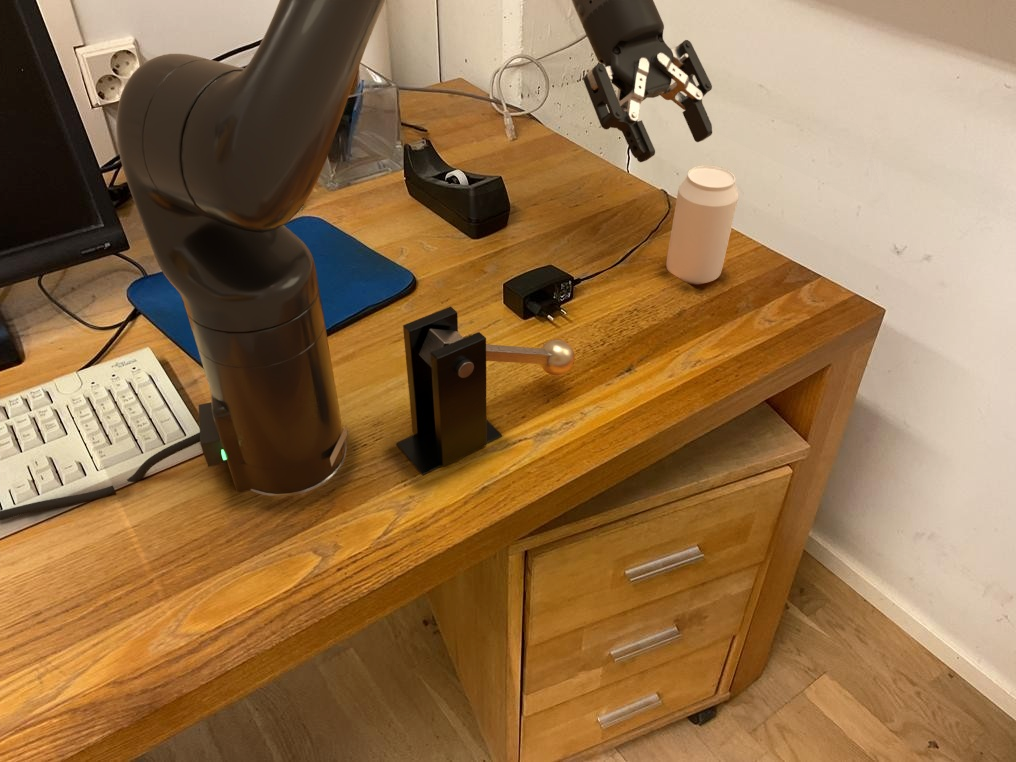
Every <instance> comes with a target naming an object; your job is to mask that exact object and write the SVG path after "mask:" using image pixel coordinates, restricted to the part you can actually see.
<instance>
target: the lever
mask: <svg viewBox="0 0 1016 762" xmlns="http://www.w3.org/2000/svg"><path fill="white" fill-rule="evenodd" d="M463 338H465V337H464V336H463V335H461V333H459V331H458V332H457V331H451V330H440V329H429V331H428V334H427V336H426V338H425V341H424V343H423V346H422V348H421V350H420V353H419V355H420V356H421V357H422V358H423V359H424V360H425V361H426V362H427V363H428V364H429V365H430V366H431V352H432V351H434V350H437V349H439V348H442V347H444V346H446V345H449V344H451V343H454V342H456V341H458V340H461V339H463ZM486 362H498V363H499V362H500V363H501V362H502V363H517V364H533V365H534V364H535V365H536V364H537V365H540V367H541V368H542V370H543V371H544V372H545V373H547V374H549V375H552V376H561V375H564V374H566V373H567V372H569V371H570V370H571V369H572V368H573V366H574V362H575V351H574V349H573V347H572V345H570V344H569V343H568V342H567V341H565V340H563V339H559V338H558V339H557V338H555V339H550V340H548V341H547V342H546V341H545V343H544V344H542V346H541V347H540V348H539V347H538V348H537V347H528V346H527V347H526V346H511V345H501V344H499V345H498V344H487V343H486Z"/></svg>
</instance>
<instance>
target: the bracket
mask: <svg viewBox="0 0 1016 762" xmlns="http://www.w3.org/2000/svg"><path fill="white" fill-rule="evenodd" d="M458 319H459V317H458V311H457V310H455V308H454V307H452V306H448V307H445V308H443V309H440V310H438V311H435V312H432V313H429V314H428V315H425V316H423V317H420V318H418V319H415V320H412V321H410V322H407V323H405V324H403V325H402V329H403V340H404V352H405V363H406V375H407V386H408V397H409V408H410V419H411V421H410V422H411V430H412V431H411V432H412V433H413V435H411V436H408V437H406V438H404V439H402V440H399V441H398V442H395V445H396V447H397V448H398V450H400V452H402V454H403V455H404V456H405V457H406V458H407V460H408V461H409V462H410V463H411V464H412V466H413V467H414V468H415V469H416V470H417V471H418V472H419V473H420V475H421V476H422V477H424V476H427V475H428V474H431V473H432V472H434V471H436V470H438V469H440V468H442V467H446V466H448V465H449V464H452V463H454V462H456V461H458V460H460V459H463V458H464V457H466V456H469V455H470V454H472V453H474V452H476V451H478V450H480V449H482V448H484V447H486V446H487V445H488V444H490V443H492V442H495V441H497V440H499V439H501V438H502V437H503V434H502V433H501V432H500V431H499V430H498V429H497V428H496V427H495V426H494V425H493V424H492V423H491V422H490V421H489V420H488V419H487V361H486V344H487V338H486V337H485V336H484V335H483V334H482V333H481V332H480V331H478V332H475V333H473V334H470V335H468V336H465V337H464V338H463V339H461V340H458V341H456V342H454V343H451V344H449V345H446V346H444V347H442V348H439V349H437V350H434V351H432V352H431V366H430V365H429V364H428V363H427V362H426V361H425V360H424V359H423V358H422V357H421V356H420V355H419V353H420V350H421V348H422V346H423V343H424V341H425V338H426V336H427V334H428V331H429V329H440V330H451V331H457V332H458V333H459V321H458Z"/></svg>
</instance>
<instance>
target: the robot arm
mask: <svg viewBox="0 0 1016 762" xmlns="http://www.w3.org/2000/svg"><path fill="white" fill-rule="evenodd" d="M386 1H387V0H279V1H278V4H277V6H276V9H275V11H274V13H273V15H272V18H271V20H270V23H269V25H268V27H267V30H266V32H265V33H264V36H263V37H262V40H261V41H260V44H259V45H258V47H257V49H256V51H255V52H254V54H253V55H252V57H251V59H250V60H249V62H248V63H247V65H246V66H245V68H244V67H241V66H240V67H239V66H236V65H233V64H228V63H226V62H222V61H217V60H214V59H209V58H205V57H203V56H202V57H201V56H197V55H193V54H188V53H187V54H186V53H166V54H162V55H158V56H156V57H154V58H151V59H149V60H146V61H145V62H144V63H142V64H141V65H140V66H139V67H137V68H136V69H135V71H134V72H132V74H131V75H130V77H129V78H128V80H127V82H126V83H125V85H124V86H123V89H122V92H121V94H120V97H119V101H118V105H117V110H116V111H117V112H116V119H115V120H116V123H115V124H116V125H115V127H116V128H115V129H116V130H115V131H116V142H117V149H118V155H119V159H120V163H121V166H122V170H123V172H124V177H125V180H126V183H127V185H128V189H129V191H130V194H131V197H132V199H133V200H132V201H133V202H134V205H135V207H136V210H137V212H138V215H139V218H140V221H141V223H142V226H143V229H144V231H145V234H146V237H147V239H148V242H149V244H150V247H151V249H152V252H153V255H154V257H155V260H156V262H157V265H158V267H159V268H160V270H161V272H162V274H163V275H164V276H165V278H166V279H167V280H168V282H169V283H170V284H171V285H172V286H173V288H175V290H176V291H177V292H178V293H179V296H180V297H181V300H182V302H183V306H184V310H185V311H186V315H187V318H188V321H189V325H190V328H191V331H192V334H193V338H194V341H195V345H196V348H197V351H198V354H199V355H198V356H199V358H200V361H201V364H202V367H203V371H204V375H205V377H206V378H205V379H206V381H207V384H208V387H209V390H210V402H205V403H200V404H198V423H199V432H197V433H195V434H193V435H191V436H188V437H187V438H184V439H182V440H180V441H177V442H175V443H173V444H171V445H168V446H167V447H165V448H163V449H161V450H159V451H158V452H156V453H154V454H153V455H151V456H149V458H148V459H146V460H145V461H144V462H142V464H141V465H140V466H139V467H138V469H137V470H136V471H135V472H134V473H133V474H132V475H131V476H130V477H128V478H127V479H126V482H129V483H135V482H140V481H141V480H142V479H143V478H144V477H145V475H146V474H147V473H148V472H149V471H150V470H151V468H153V467H154V466H156V465H157V464H158V463H160V462H161V461H164V460H165V459H167V458H169V457H171V456H172V455H174V454H177V453H179V452H181V451H183V450H185V449H187V448H190V447H192V446H194V445H197V444H200V447H201V451H202V453H203V456H204V459H205V462H206V465H207V467H208V468H210V467H214V466H219V465H224V464H227V466H228V469H229V472H230V476H231V479H232V482H233V486H234V489H235V492H237V493H242V492H247V491H251V492H254V493H256V494H259V495H262V496H267V497H291V496H296V495H301V494H304V493H308V492H309V491H312V490H315V489H316V488H319V487H321V486H323V484H325V483H327V482H328V481H329V480H331V479H332V478H333V477H334V476H335V475H336V474H337V473H338V471H339V470H340V469H341V467H342V466H343V464H344V462H345V460H346V457H347V453H348V452H347V451H348V446H347V440H346V439H347V436H348V434H349V433H348V428H347V425H345V426H344V428H343V423H342V416H341V410H340V405H339V398H338V393H337V387H336V382H335V381H336V380H335V375H334V369H333V363H332V358H331V352H330V351H331V350H330V345H329V339H328V334H327V327H326V322H325V317H324V316H325V315H324V310H323V303H322V298H321V297H322V296H321V291H320V286H319V280H318V279H319V278H318V274H317V269H316V264H315V261H314V260H315V259H314V256H313V254H312V252H311V250H310V249H309V247H308V246H307V245H306V244H305V242H304V241H303V240H302V239H300V237H299V236H298V235H296V234H295V233H294V232H293V231H292V230H291V229H289V228H288V227H287V226H286V224H288V222H289V221H290V222H291V220H292V219H293V218H294V217H295V216H296V215H297V214H298V213H299V211H300V210H301V209H302V207H303V206H305V204H306V202H307V200H308V199H309V197H310V195H311V194H312V192H313V190H314V188H315V187H316V185H317V183H318V181H319V178H320V176H321V174H322V172H323V169H324V166H325V164H326V162H327V160H328V156H329V154H330V151H331V148H332V145H333V143H334V140H335V137H336V134H337V133H338V128H339V125H340V123H341V120H342V117H343V114H344V111H345V108H346V106H347V103H348V100H349V96H350V94H351V91H352V89H353V85H354V82H355V79H356V76H357V73H358V71H359V68H360V65H361V62H362V60H363V57H364V54H365V51H366V48H367V46H368V44H369V41H370V39H371V36H372V34H373V31H374V29H375V27H376V24H377V21H378V19H379V17H380V15H381V13H382V10H383V8H384V6H385V3H386ZM571 2H572V5H573V8H574V10H575V12H576V15H577V17H578V19H579V22H580V23H581V26H582V28H583V30H584V33H585V35H586V37H587V40H588V41H589V44H590V47H591V49H592V51H593V53H594V55H595V57H596V59H597V61H598V62H599V63H597V64H596V65H594V67H592V68H591V69H590V71H589V72H587V73H586V74H585V75H584V76H583V83H584V86H585V88H586V90H587V94H588V96H589V99H590V101H591V103H592V107H593V109H594V111H595V115H596V116H597V119H598V122H599V124H600V126H601V128H602V129H603V130H609V129H617V130H618V131H619V132H621V133H622V134H623V137H624V139H625V142H626V144H627V145H628V148H629V149H630V152H631V155H632V156H633V157H634V158H635V159H636V160H637V161H638V162H639V163H644V162H647V161H648V160H649V159H651V158H653V157H654V156H655V155H656V149H655V147H654V144H653V141H652V140H651V138H650V136H649V133H648V131H647V128H646V126H645V124H644V122H643V120H639V118H640V112H641V104H642V102H643V101H645V100H646V99H648V98H651V99H654V98H658V97H661V98H662V99H663V100H666V101H672V102H673V103H674V104H676V105H677V106H678V107H679V108H680V109H682V116H683V118H684V120H685V122H686V124H687V127H688V129H689V131H690V133H691V135H692V138H693V140H694V142H696V143H699V142H702V141H705V140H706V139H708V138H710V137H711V136H712V135H713V124H712V122H711V120H710V117H709V116H708V112H707V111H706V109H705V106H704V104H703V98H704V97H705V96H706V95H707V94H708V93H709V92H710V91H712V90H713V85H712V82H711V80H710V78H709V76H708V75H707V72H706V70H705V68H704V67H703V64H702V62H701V60H700V58H699V56H698V54H697V52H696V50H695V48H694V46H693V44H692V42H691V41H690V40H689V39H684V40H683V41H682V42H680V43H679V44H678V45H677V46H674V47H669V46H668V45H667V43H666V42H665V40H664V30H665V23H664V21H663V19H662V17H661V15H660V13H659V11H658V8H657V6H656V3H655V0H571ZM694 78H695V80H696V81H697V84H698V85H696V83H695V80H694ZM672 80H673V81H674V82H673V83H672ZM614 86H615V87H616V88H617V94H616V91H615V88H614ZM683 93H684V94H685V95H684V94H683ZM116 494H117V492H116V489H115V487H114V486H113V485H110V486H107V487H103V488H101V489H97V490H93V491H89V492H84V493H78V494H73V495H68V496H62V497H57V498H56V497H55V498H51V499H46V500H42V501H41V500H40V501H35V502H32V503H26V504H23V505H19V506H15V507H11V508H7V509H2V510H0V521H4V520H7V519H10V518H14V517H20V516H22V515H27V514H31V513H36V512H40V511H45V510H49V509H55V508H61V507H66V506H72V505H76V504H81V503H86V502H90V501H94V500H98V499H103V498H106V497H109V496H112V495H116Z"/></svg>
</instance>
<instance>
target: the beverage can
mask: <svg viewBox="0 0 1016 762" xmlns="http://www.w3.org/2000/svg"><path fill="white" fill-rule="evenodd" d="M738 201H739V191H738V188H737V185H736V176H735V175H734V173H733V172H731V171H729V170H728V169H726V168H723V167H720V166H716V165H698V166H694V167H692V168H690V169H689V170H688V171H687V175H686V176H685V178H684V179H683V180H682V181H681V183H680V184H679V185H678V189H677V194H676V201H675V207H674V214H673V218H672V224H671V231H670V236H669V237H670V238H669V243H668V247H667V248H668V249H667V255H666V261H665V262H666V263H665V266H666V270H667V271H668V272H669V273H671V275H673V276H675V277H677V278H679V279H680V280H681V281H683V282H684V283H686V284H688V285H703V284H707V283H710V282H713V281H715V280H717V279H718V278H720V276H721V274H722V271H723V267H724V262H725V259H726V254H727V249H728V245H729V241H730V236H731V232H732V227H733V223H734V218H735V213H736V211H737V210H736V209H737V205H738Z"/></svg>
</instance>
